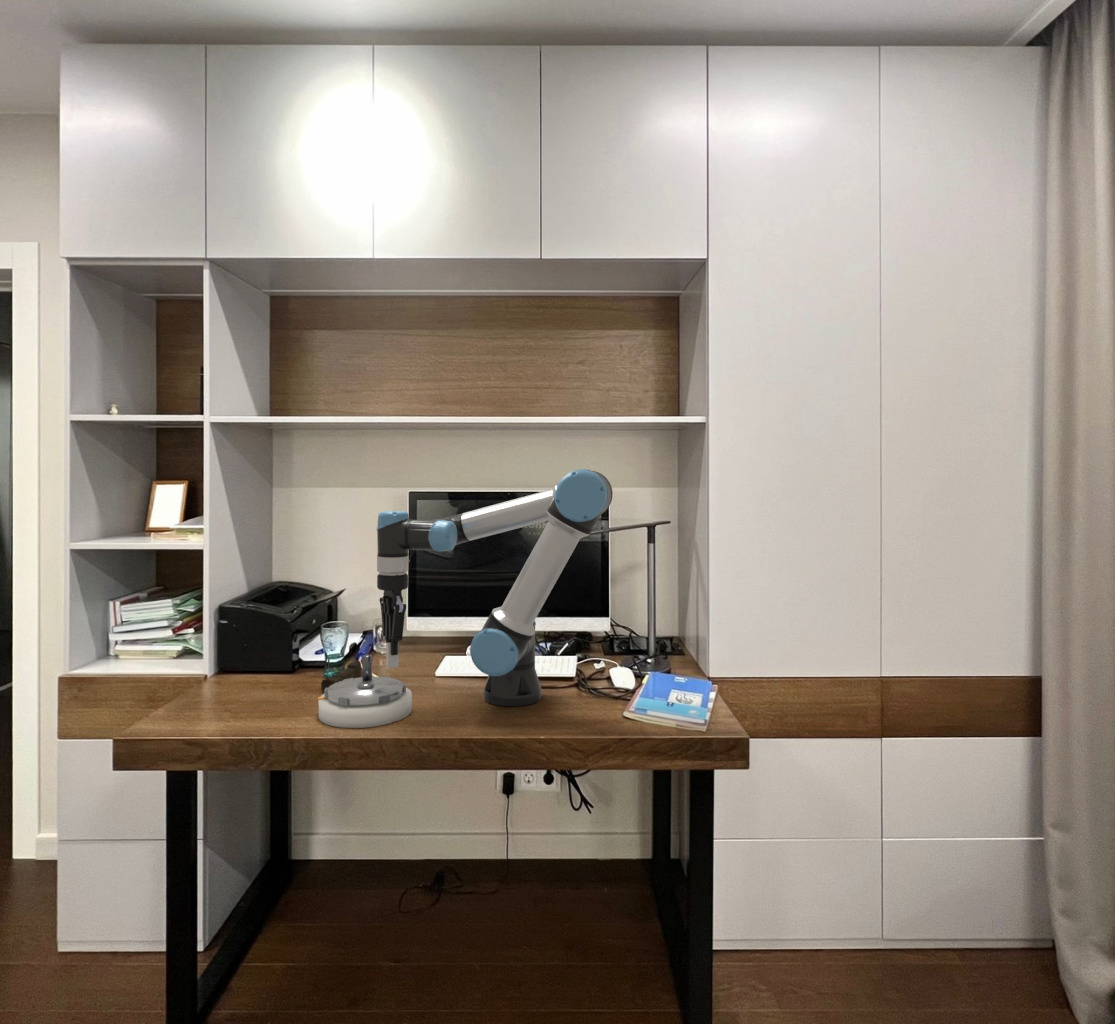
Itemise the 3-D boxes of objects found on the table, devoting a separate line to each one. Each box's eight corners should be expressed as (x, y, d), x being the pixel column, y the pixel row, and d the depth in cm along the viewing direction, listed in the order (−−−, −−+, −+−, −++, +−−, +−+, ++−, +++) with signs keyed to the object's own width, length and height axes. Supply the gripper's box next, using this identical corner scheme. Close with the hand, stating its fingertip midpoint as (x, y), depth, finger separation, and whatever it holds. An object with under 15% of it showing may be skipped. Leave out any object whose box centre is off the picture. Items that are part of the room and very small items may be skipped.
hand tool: (333, 694, 188) (333, 677, 188) (320, 693, 189) (320, 675, 189) (369, 675, 206) (369, 660, 206) (356, 674, 207) (356, 659, 207)
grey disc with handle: (406, 703, 166) (406, 670, 166) (320, 709, 162) (320, 674, 162) (405, 682, 184) (405, 651, 183) (328, 686, 179) (328, 655, 179)
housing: (427, 703, 180) (427, 686, 180) (381, 732, 159) (381, 713, 159) (353, 695, 187) (352, 679, 186) (299, 722, 166) (298, 703, 166)
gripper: (416, 575, 172) (416, 671, 173) (398, 569, 183) (397, 659, 184) (386, 577, 168) (386, 675, 169) (369, 570, 179) (369, 662, 180)
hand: (392, 666), depth 176 cm, fingers closed
